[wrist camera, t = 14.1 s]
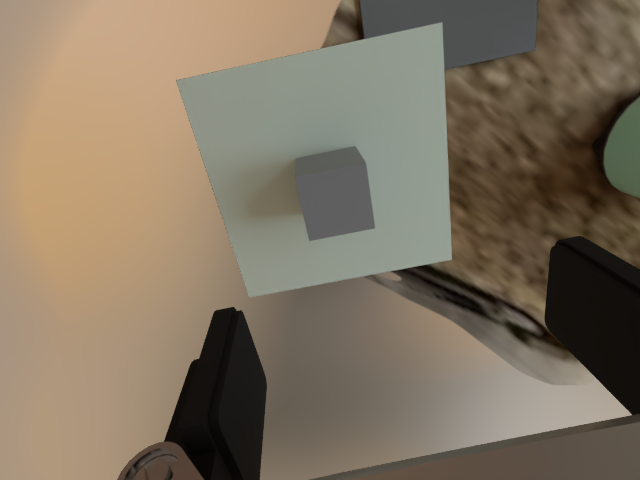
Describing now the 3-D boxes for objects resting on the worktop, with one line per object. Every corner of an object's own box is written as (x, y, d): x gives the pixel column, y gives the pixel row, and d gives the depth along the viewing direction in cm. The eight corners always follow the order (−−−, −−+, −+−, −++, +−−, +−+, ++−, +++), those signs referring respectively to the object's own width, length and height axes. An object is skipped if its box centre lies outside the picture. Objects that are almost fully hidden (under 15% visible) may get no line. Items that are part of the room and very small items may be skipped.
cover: (381, 40, 38) (475, 12, 17) (396, 186, 45) (476, 292, 24) (230, 72, 39) (147, 84, 18) (268, 211, 46) (240, 335, 25)
